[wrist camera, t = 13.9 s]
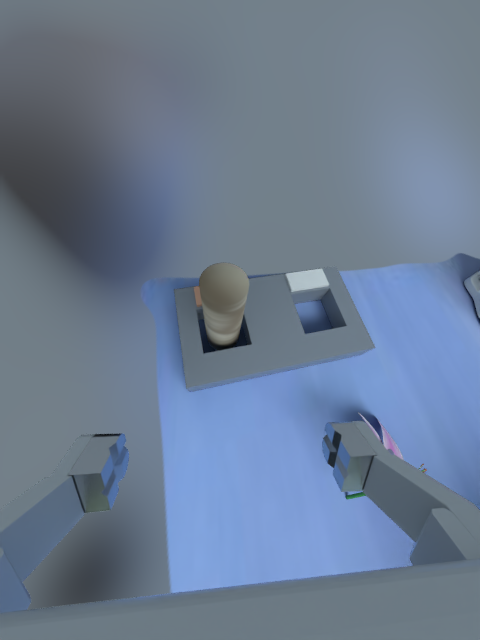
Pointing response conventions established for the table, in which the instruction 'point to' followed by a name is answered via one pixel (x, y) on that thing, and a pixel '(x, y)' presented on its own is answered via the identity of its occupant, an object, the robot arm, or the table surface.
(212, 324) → the peg
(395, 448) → the lily
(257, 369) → the socket deck
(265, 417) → the table surface
